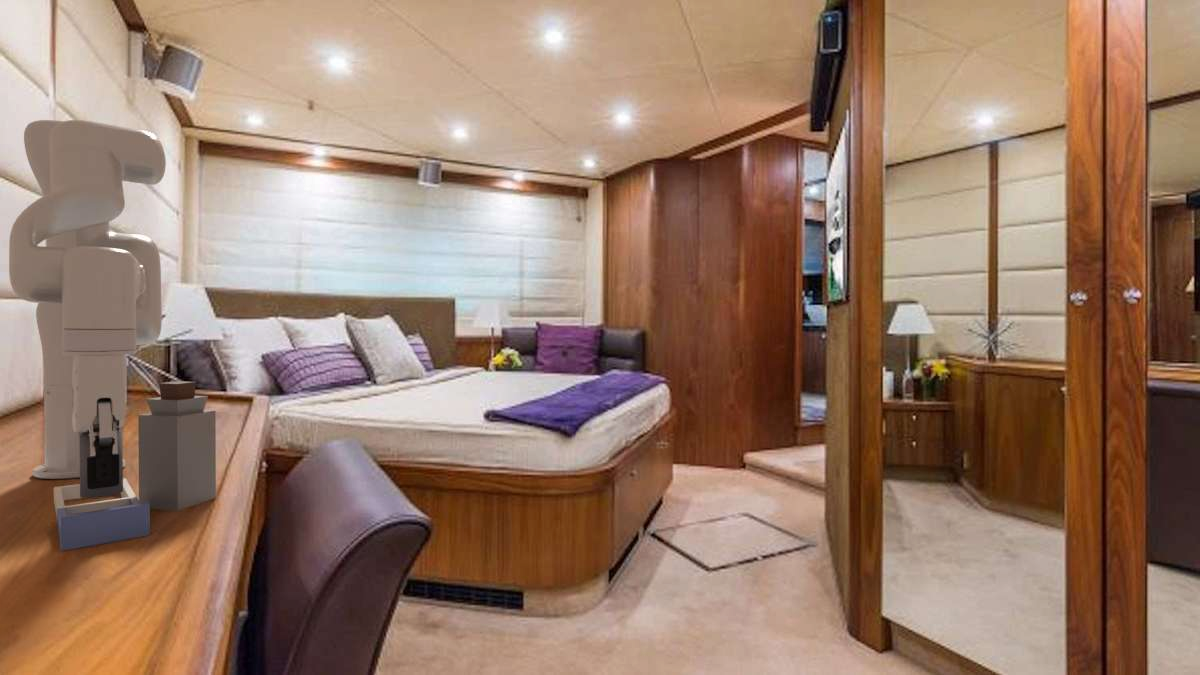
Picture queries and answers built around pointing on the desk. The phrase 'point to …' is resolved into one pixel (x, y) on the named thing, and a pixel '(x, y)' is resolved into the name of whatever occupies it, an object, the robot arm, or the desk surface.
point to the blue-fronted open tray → (99, 518)
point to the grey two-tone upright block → (85, 453)
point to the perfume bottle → (177, 449)
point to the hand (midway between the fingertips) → (101, 481)
